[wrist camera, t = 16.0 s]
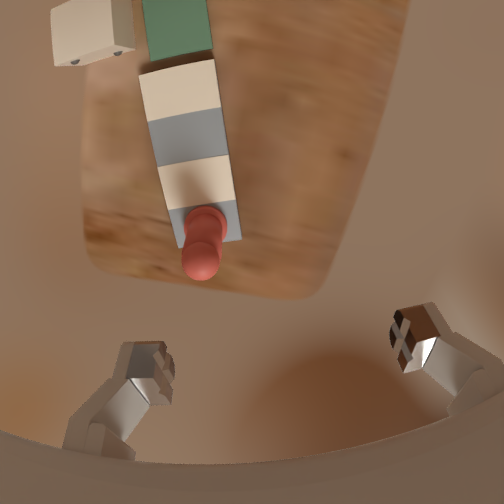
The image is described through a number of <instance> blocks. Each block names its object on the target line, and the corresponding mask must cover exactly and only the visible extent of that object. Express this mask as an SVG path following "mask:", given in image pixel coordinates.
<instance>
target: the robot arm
mask: <svg viewBox="0 0 504 504" xmlns="http://www.w3.org/2000/svg"><path fill="white" fill-rule="evenodd" d="M393 318H394V320H395V322H394V323H393V324H392V325H391V327H390V331H389V337H390V338H389V339H390V343H391V346H392V348H393V350H394V351H396V352H397V353H399V355H398V358H397V360H398V362H399V365H400V367H401V370H402V372H403V373H406V372H410V371H414V370H418V369H422V368H423V370H424V371H425V372H426V373H427V374H429V375H430V376H431V377H432V378H433V379H435V380H436V381H437V382H438V383H439V384H440V385H442V386H443V387H444V388H445V389H446V390H448V391H449V392H450V393H451V394H452V395H453V396H454V397H455V398H454V399H453V400H452V402H451V403H450V404H449V406H448V407H447V411H448V413H449V416H450V417H448V418H445V419H443V420H440V421H437V422H435V423H432V424H429V425H427V426H424V427H421V428H418V429H415V430H413V431H409V432H406V433H403V434H400V435H397V436H394V437H391V438H387V439H383V440H380V441H376V442H372V443H369V444H365V445H361V446H357V447H353V448H348V449H344V450H339V451H334V452H329V453H324V454H318V455H312V456H306V457H299V458H292V459H284V460H276V461H266V462H254V463H241V464H240V463H239V464H207V465H206V464H166V463H153V462H142V461H135V455H136V452H135V451H134V450H133V449H132V448H131V447H130V446H128V445H127V444H126V443H125V440H126V439H127V438H128V436H129V435H130V434H131V432H132V431H133V429H134V428H135V427H136V425H137V424H138V422H139V421H140V420H141V418H142V417H143V415H144V414H145V413H146V411H147V410H148V409H149V407H150V406H149V405H171V403H172V395H173V389H172V387H171V385H170V383H171V382H172V381H173V380H174V377H175V365H174V361H173V358H172V356H171V355H170V354H169V353H167V352H166V350H167V346H166V344H165V342H164V341H136V342H123V344H122V345H121V347H120V351H119V354H118V358H117V362H116V366H115V369H114V373H113V377H112V379H108V380H107V381H106V382H105V383H104V384H103V385H102V386H101V387H100V388H99V389H98V390H97V391H96V392H95V393H94V394H93V395H92V396H91V397H90V398H89V399H88V400H87V401H86V402H85V403H84V404H83V405H82V406H81V407H80V408H79V409H78V410H77V411H76V412H75V413H74V414H73V415H72V416H71V417H70V419H69V422H68V426H67V430H66V434H65V438H64V442H63V446H62V448H58V447H54V446H50V445H46V444H42V443H39V442H35V441H32V440H28V439H25V438H22V437H19V436H16V435H13V434H10V433H7V432H4V431H1V430H0V504H504V364H503V363H502V361H501V359H499V358H498V357H496V356H495V355H493V354H491V353H489V352H488V351H486V350H485V349H483V348H481V347H480V346H478V345H477V344H475V343H473V342H472V341H470V340H468V339H467V338H465V337H463V336H462V335H460V334H458V333H457V332H454V333H453V332H452V331H451V329H450V327H449V326H448V324H447V322H446V321H445V319H444V318H443V316H442V314H441V313H440V311H439V310H438V308H437V306H436V305H435V303H433V302H429V303H425V304H421V305H415V306H411V307H407V308H402V309H398V310H396V311H395V313H394V316H393Z"/></svg>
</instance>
